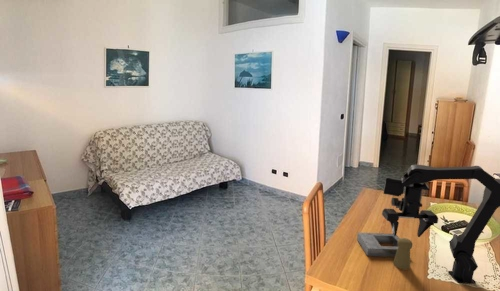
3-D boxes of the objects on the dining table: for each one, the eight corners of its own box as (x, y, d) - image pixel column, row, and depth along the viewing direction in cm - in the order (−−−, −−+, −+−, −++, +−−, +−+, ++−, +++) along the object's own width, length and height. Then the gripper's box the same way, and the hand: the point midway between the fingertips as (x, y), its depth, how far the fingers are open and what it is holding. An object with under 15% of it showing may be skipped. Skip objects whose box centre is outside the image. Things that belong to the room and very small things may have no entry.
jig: (408, 257, 128) (409, 249, 128) (367, 256, 128) (368, 248, 128) (394, 240, 141) (395, 233, 140) (356, 239, 141) (357, 232, 140)
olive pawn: (395, 258, 127) (399, 234, 125) (411, 264, 124) (416, 239, 121) (391, 265, 123) (395, 240, 120) (407, 271, 119) (412, 245, 116)
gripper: (426, 191, 125) (420, 227, 129) (379, 189, 126) (374, 225, 129) (442, 202, 114) (435, 241, 118) (390, 200, 115) (385, 239, 118)
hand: (406, 236), depth 121 cm, fingers open, 9 cm apart
